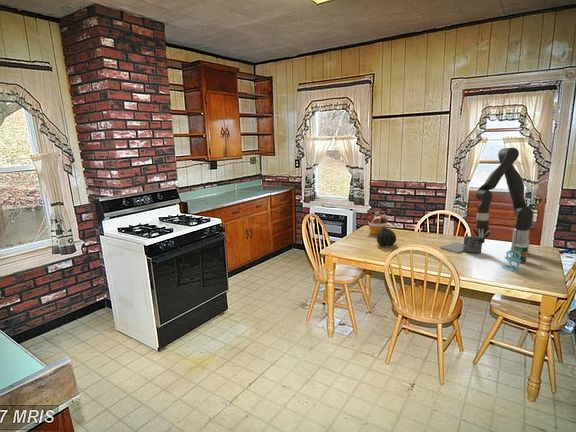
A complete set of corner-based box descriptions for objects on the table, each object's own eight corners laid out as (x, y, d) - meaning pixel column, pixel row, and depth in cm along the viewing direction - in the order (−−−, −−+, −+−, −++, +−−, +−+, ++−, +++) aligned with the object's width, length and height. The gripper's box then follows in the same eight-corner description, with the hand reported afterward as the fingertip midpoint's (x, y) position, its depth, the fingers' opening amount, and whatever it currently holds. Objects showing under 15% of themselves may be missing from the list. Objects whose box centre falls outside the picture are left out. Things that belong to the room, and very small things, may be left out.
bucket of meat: (391, 232, 305) (392, 210, 301) (384, 236, 292) (384, 213, 288) (369, 229, 317) (370, 207, 312) (362, 233, 304) (362, 211, 300)
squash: (403, 239, 266) (392, 222, 272) (390, 244, 258) (379, 227, 264) (391, 247, 277) (382, 231, 283) (379, 252, 269) (369, 235, 274)
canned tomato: (526, 264, 226) (528, 247, 223) (512, 262, 230) (514, 246, 227) (525, 260, 233) (527, 244, 230) (511, 258, 236) (513, 242, 234)
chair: (509, 272, 214) (511, 253, 212) (501, 266, 222) (504, 249, 220) (522, 271, 214) (524, 253, 211) (514, 266, 222) (516, 248, 219)
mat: (474, 248, 258) (474, 247, 258) (457, 253, 249) (457, 252, 248) (456, 243, 271) (456, 242, 271) (439, 247, 261) (439, 246, 261)
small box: (477, 250, 252) (479, 236, 250) (481, 253, 246) (483, 238, 244) (462, 249, 254) (464, 235, 252) (465, 252, 247) (467, 237, 245)
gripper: (495, 219, 235) (494, 243, 239) (476, 216, 247) (476, 240, 250) (489, 221, 232) (488, 246, 235) (470, 218, 243) (469, 242, 247)
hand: (481, 243), depth 243 cm, fingers closed
